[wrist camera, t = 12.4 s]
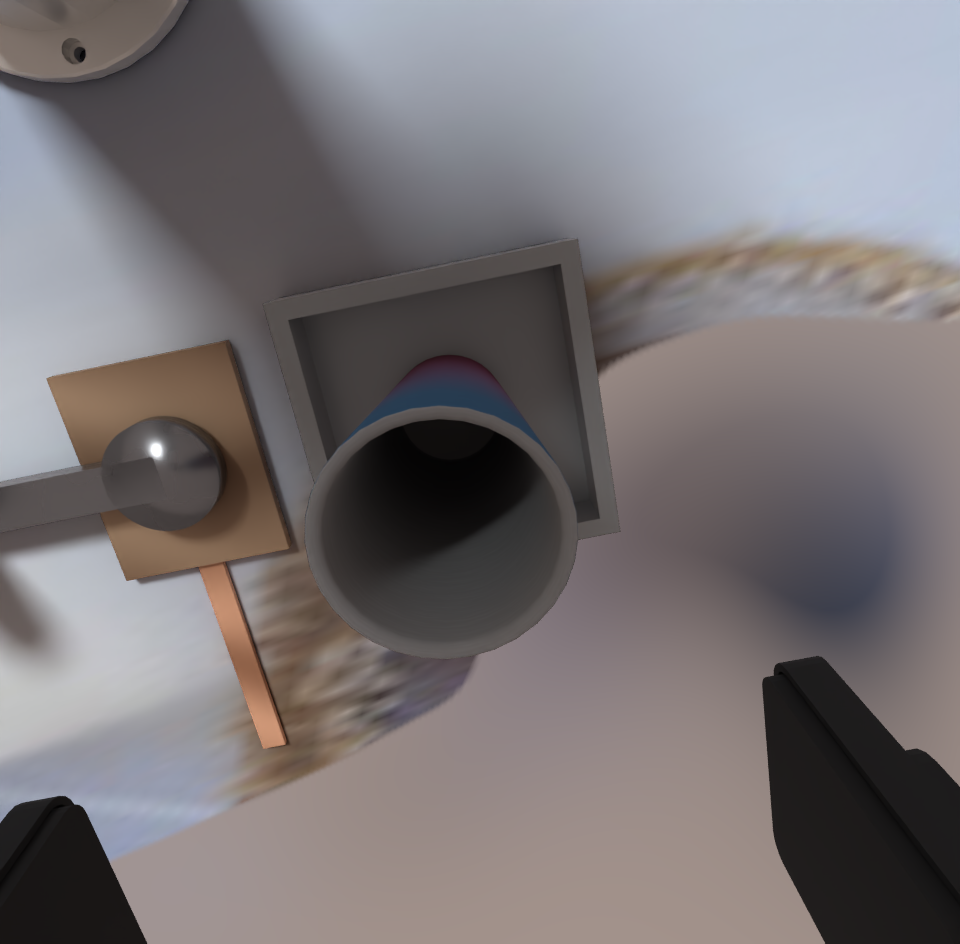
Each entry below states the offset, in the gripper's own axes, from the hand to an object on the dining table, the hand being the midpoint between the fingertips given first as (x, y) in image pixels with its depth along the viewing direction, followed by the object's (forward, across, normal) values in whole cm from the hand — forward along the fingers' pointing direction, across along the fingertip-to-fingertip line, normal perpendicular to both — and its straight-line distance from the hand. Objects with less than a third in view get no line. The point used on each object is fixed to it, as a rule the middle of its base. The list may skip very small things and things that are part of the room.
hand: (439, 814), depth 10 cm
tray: (+24, 0, 0) cm, 24 cm away
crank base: (+24, +13, +6) cm, 28 cm away
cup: (+24, 0, 0) cm, 24 cm away
